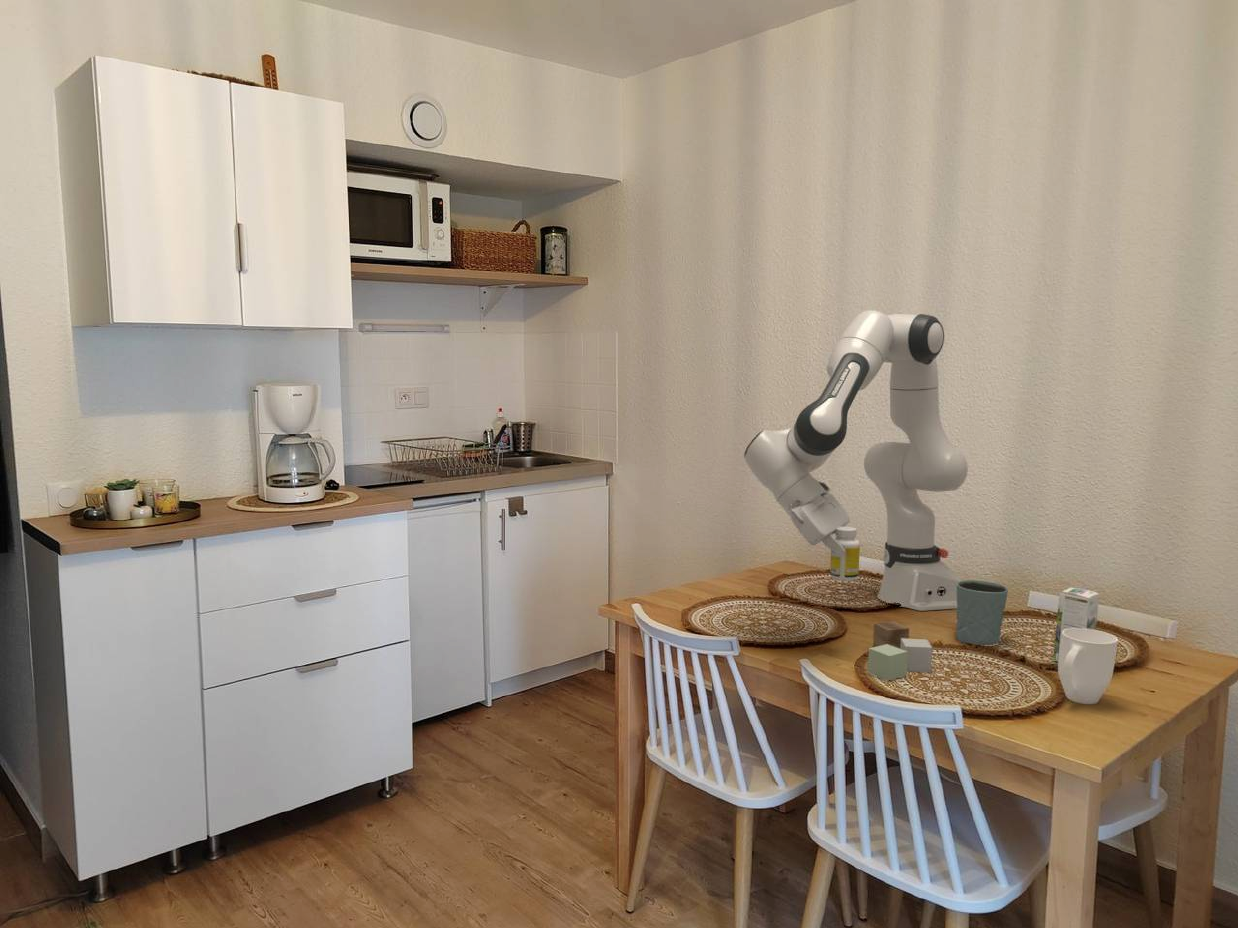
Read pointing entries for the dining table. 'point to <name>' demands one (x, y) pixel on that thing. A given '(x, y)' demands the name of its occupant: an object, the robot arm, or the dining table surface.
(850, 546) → the supplement bottle
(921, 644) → the grey painted cube
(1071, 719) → the dining table surface
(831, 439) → the robot arm
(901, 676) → the sage cube
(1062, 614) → the syrup box
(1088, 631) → the mug
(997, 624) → the teal plant pot
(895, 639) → the walnut cube
